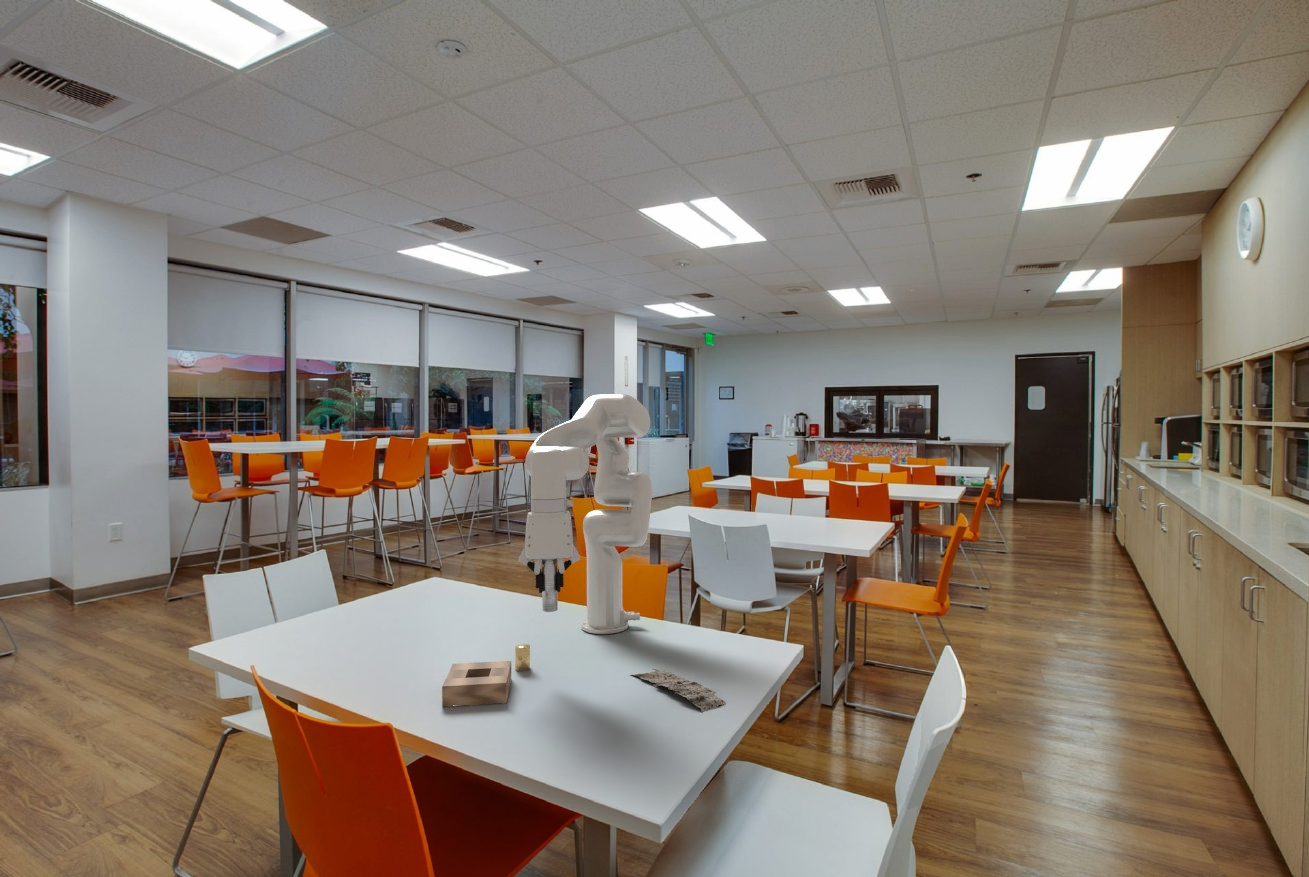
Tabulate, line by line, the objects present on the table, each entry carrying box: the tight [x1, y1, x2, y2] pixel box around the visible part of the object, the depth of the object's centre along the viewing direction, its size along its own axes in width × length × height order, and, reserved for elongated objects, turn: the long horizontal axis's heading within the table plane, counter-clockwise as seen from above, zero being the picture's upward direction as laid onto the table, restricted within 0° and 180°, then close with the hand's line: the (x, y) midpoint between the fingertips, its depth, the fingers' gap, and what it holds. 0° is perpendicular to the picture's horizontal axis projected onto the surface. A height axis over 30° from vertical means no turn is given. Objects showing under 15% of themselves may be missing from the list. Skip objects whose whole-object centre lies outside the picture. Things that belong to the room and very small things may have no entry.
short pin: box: [514, 643, 531, 672], centre depth 142 cm, size 3×3×5 cm
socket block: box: [441, 660, 512, 706], centre depth 129 cm, size 12×12×4 cm
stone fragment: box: [633, 668, 727, 713], centre depth 132 cm, size 25×3×10 cm
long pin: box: [541, 559, 559, 613], centre depth 138 cm, size 3×3×12 cm
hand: (549, 590), depth 138 cm, fingers closed on long pin, 3 cm apart
